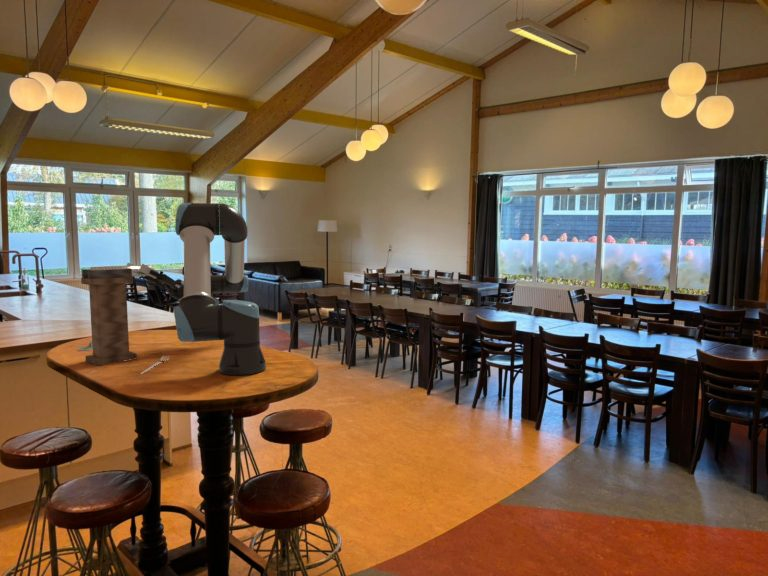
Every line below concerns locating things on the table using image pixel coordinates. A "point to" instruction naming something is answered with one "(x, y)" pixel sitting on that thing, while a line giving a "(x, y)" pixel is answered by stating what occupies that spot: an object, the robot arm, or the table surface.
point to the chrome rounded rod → (134, 268)
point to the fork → (155, 364)
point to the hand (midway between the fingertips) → (133, 266)
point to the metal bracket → (86, 347)
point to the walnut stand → (108, 315)
